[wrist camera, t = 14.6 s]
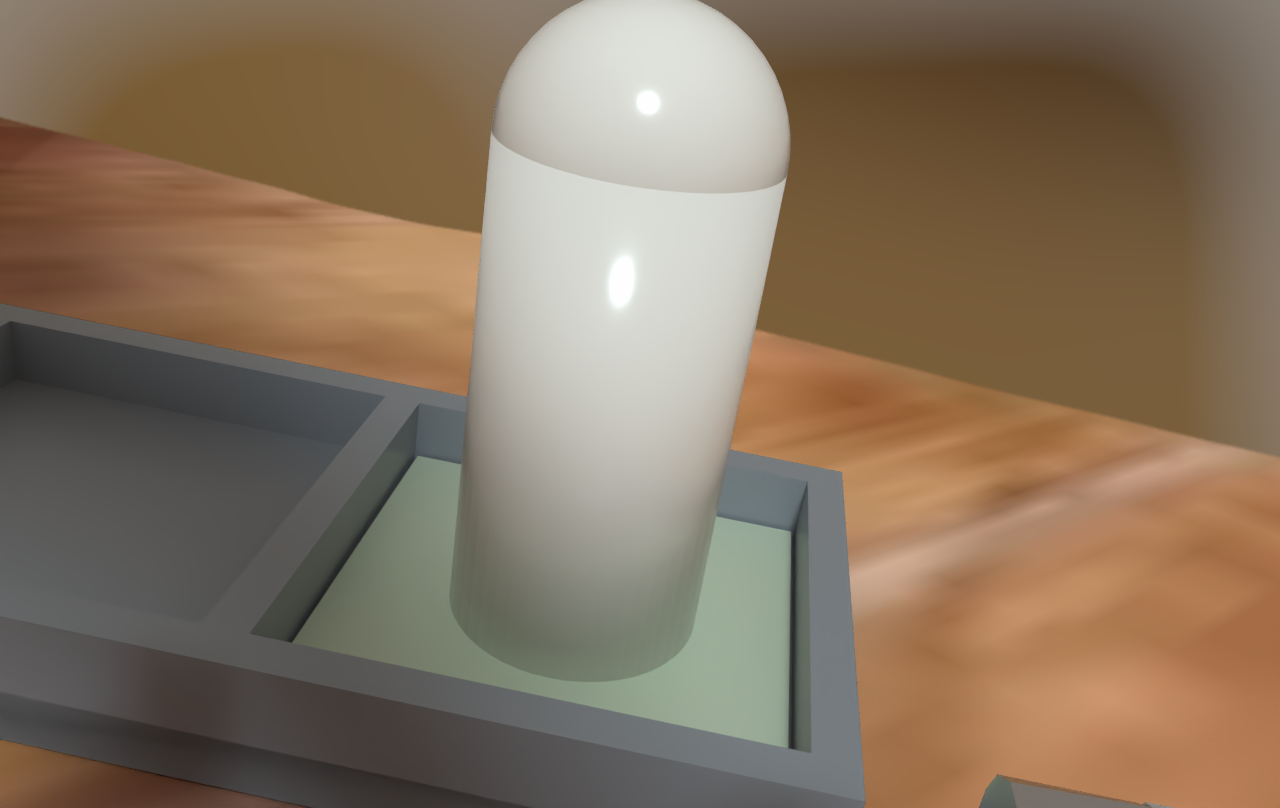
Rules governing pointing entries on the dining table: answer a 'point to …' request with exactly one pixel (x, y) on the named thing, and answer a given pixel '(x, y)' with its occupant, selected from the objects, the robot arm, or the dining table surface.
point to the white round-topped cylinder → (612, 332)
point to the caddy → (369, 600)
